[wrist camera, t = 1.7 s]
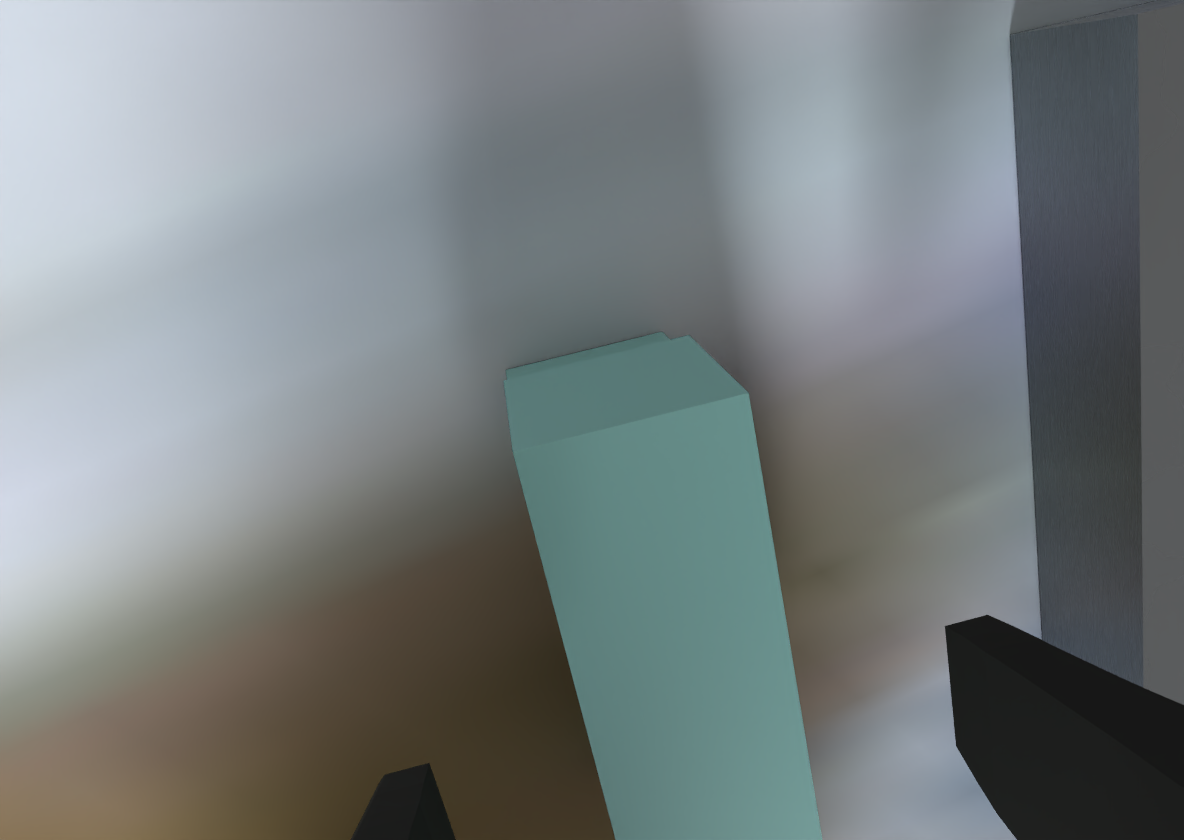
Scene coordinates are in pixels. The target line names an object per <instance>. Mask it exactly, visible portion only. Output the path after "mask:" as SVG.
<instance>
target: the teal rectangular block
mask: <svg viewBox="0 0 1184 840" xmlns="http://www.w3.org/2000/svg"><path fill="white" fill-rule="evenodd" d="M506 376H507V380H504V389H505V397H506V404H507V412H508V420H509V428H510V435H511V443H512V451H513V455H514V459H515V463H516V466H517V470H518V474H519V478H520V482H521V485H522V489H523V493H524V497H525V500H526V504H527V508H528V512H529V515H530V519H531V523H532V527H533V530H534V534H535V538H536V542H537V546H538V549H539V553H540V557H541V561H542V564H543V568H544V572H545V576H546V579H547V583H548V587H549V591H550V595H551V598H552V602H553V606H554V610H555V613H556V617H557V621H558V625H559V628H560V632H561V636H562V640H563V643H564V647H565V651H566V655H567V659H568V662H569V666H570V670H571V674H572V677H573V681H574V685H575V689H576V692H577V696H578V700H579V704H580V708H581V711H582V715H583V719H584V723H585V726H586V730H587V734H588V738H589V741H590V745H591V749H592V753H593V756H594V760H595V764H596V768H597V772H598V775H599V779H600V783H601V787H602V790H603V794H604V798H605V802H606V805H607V809H608V813H609V817H610V821H611V824H612V828H613V832H614V836H615V839H616V840H822V835H821V829H820V823H819V817H818V811H817V805H816V798H815V792H814V786H813V780H812V774H811V768H810V762H809V756H808V750H807V744H806V738H805V732H804V726H803V720H802V714H801V708H800V702H799V695H798V689H797V683H796V677H795V671H794V665H793V659H792V653H791V647H790V641H789V635H788V629H787V623H786V617H785V611H784V605H783V599H782V592H781V586H780V580H779V574H778V568H777V562H776V556H775V550H774V544H773V538H772V532H771V526H770V520H769V514H768V508H767V502H766V496H765V489H764V483H763V477H762V471H761V465H760V459H759V453H758V447H757V441H756V435H755V429H754V423H753V417H752V411H751V405H750V399H749V393H748V392H747V391H746V390H745V389H744V388H743V387H742V386H741V385H740V384H739V383H738V382H737V381H736V380H735V379H734V378H733V377H732V376H731V375H730V374H729V373H728V372H726V371H725V370H724V369H723V368H722V367H721V366H720V365H719V364H718V363H717V362H716V361H715V360H714V359H713V358H712V357H711V356H710V355H709V354H708V353H707V352H706V351H705V350H704V349H703V348H702V347H701V346H700V345H699V344H698V343H697V342H696V341H695V340H694V339H693V338H692V337H690V336H689V335H687V336H683V337H679V338H675V339H671V340H670V339H669V338H668V337H667V336H666V335H665V334H664V333H663V332H659V333H655V334H651V335H646V336H642V337H638V338H634V339H630V340H626V341H622V342H618V343H614V344H610V345H606V346H602V347H598V348H593V349H589V350H585V351H581V352H577V353H573V354H569V355H565V356H561V357H557V358H553V359H549V360H544V361H540V362H536V363H532V364H528V365H524V366H520V367H516V368H512V369H508V370H506Z"/></svg>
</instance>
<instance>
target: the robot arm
mask: <svg viewBox="0 0 1184 840" xmlns="http://www.w3.org/2000/svg"><path fill="white" fill-rule="evenodd" d="M945 631H946V642H947V653H948V663H949V674H950V685H951V696H952V707H953V717H954V728H955V739H956V746H957V748H958V750H959V752H960V753H961V755H962V757H963V758H964V760H965V762H966V764H967V765H968V767H969V769H970V770H971V772H972V774H973V775H974V777H975V779H976V781H977V782H978V784H979V785H980V787H981V789H982V790H983V792H984V793H985V795H986V797H987V798H988V800H989V801H990V803H991V805H992V806H993V808H994V810H995V811H996V813H997V814H998V815H999V817H1000V818H1001V819H1002V821H1003V822H1004V823H1005V825H1006V826H1007V827H1008V829H1009V830H1010V831H1011V832H1012V834H1013V835H1014V836H1015V838H1016V839H1017V840H1184V705H1183V704H1180V703H1178V702H1175V701H1173V700H1171V699H1169V698H1166V697H1164V696H1162V695H1159V694H1157V693H1155V692H1152V691H1150V690H1148V689H1145V688H1143V687H1141V686H1139V685H1136V684H1134V683H1132V682H1130V681H1127V680H1125V679H1123V678H1121V677H1119V676H1117V675H1114V674H1112V673H1110V672H1108V671H1106V670H1104V669H1101V668H1099V667H1097V666H1095V665H1093V664H1091V663H1089V662H1087V661H1084V660H1082V659H1080V658H1078V657H1076V656H1074V655H1072V654H1070V653H1068V652H1066V651H1064V650H1061V649H1059V648H1057V647H1055V646H1053V645H1051V644H1049V643H1047V642H1045V641H1043V640H1041V639H1039V638H1037V637H1034V636H1032V635H1030V634H1028V633H1026V632H1024V631H1022V630H1020V629H1018V628H1016V627H1013V626H1011V625H1009V624H1007V623H1005V622H1003V621H1000V620H998V619H996V618H994V617H991V616H989V615H985V616H981V617H978V618H974V619H970V620H966V621H963V622H959V623H955V624H951V625H948V626H945ZM351 840H456V839H455V836H454V833H453V830H452V828H451V825H450V822H449V819H448V816H447V813H446V810H445V807H444V804H443V801H442V799H441V796H440V793H439V790H438V787H437V784H436V781H435V778H434V775H433V772H432V770H431V767H430V764H429V763H428V764H424V765H420V766H416V767H412V768H409V769H405V770H401V771H397V772H394V773H390V774H386V775H384V776H383V778H382V779H381V781H380V783H379V784H378V786H377V788H376V790H375V792H374V794H373V796H372V798H371V800H370V802H369V804H368V806H367V808H366V810H365V812H364V814H363V816H362V818H361V820H360V822H359V824H358V826H357V828H356V830H355V832H354V834H353V836H352V838H351Z"/></svg>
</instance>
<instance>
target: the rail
mask: <svg viewBox="0 0 1184 840" xmlns="http://www.w3.org/2000/svg"><path fill="white" fill-rule="evenodd" d="M1010 38H1011V57H1012V76H1013V95H1014V114H1015V132H1016V151H1017V170H1018V189H1019V208H1020V227H1021V246H1022V265H1023V283H1024V302H1025V321H1026V340H1027V359H1028V378H1029V397H1030V416H1031V434H1032V453H1033V472H1034V491H1035V510H1036V529H1037V548H1038V567H1039V585H1040V604H1041V623H1042V640H1043V641H1045V642H1047V643H1049V644H1051V645H1053V646H1055V647H1057V648H1059V649H1061V650H1064V651H1066V652H1068V653H1070V654H1072V655H1074V656H1076V657H1078V658H1080V659H1082V660H1084V661H1087V662H1089V663H1091V664H1093V665H1095V666H1097V667H1099V668H1101V669H1104V670H1106V671H1108V672H1110V673H1112V674H1114V675H1117V676H1119V677H1121V678H1123V679H1125V680H1127V681H1130V682H1132V683H1134V684H1136V685H1139V686H1141V687H1143V688H1145V689H1148V690H1150V691H1152V692H1155V693H1157V694H1159V695H1162V696H1164V697H1166V698H1169V699H1171V700H1173V701H1175V702H1178V703H1180V704H1183V705H1184V0H1157V1H1153V2H1149V3H1144V4H1140V5H1136V6H1131V7H1127V8H1123V9H1118V10H1114V11H1110V12H1105V13H1101V14H1097V15H1093V16H1088V17H1084V18H1080V19H1075V20H1071V21H1067V22H1062V23H1058V24H1054V25H1049V26H1045V27H1041V28H1037V29H1032V30H1028V31H1024V32H1019V33H1015V34H1011V35H1010Z"/></svg>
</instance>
